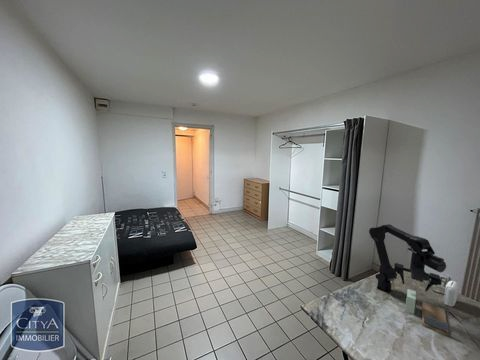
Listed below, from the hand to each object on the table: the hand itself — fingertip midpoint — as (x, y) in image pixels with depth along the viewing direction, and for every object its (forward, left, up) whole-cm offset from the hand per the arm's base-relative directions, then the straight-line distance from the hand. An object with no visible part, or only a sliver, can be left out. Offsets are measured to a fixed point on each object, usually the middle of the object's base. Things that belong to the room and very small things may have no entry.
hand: (414, 287), depth 106 cm
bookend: (+9, -9, -12) cm, 17 cm away
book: (-1, -1, -13) cm, 13 cm away
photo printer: (+16, +21, -13) cm, 30 cm away
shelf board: (+9, -1, -13) cm, 16 cm away
